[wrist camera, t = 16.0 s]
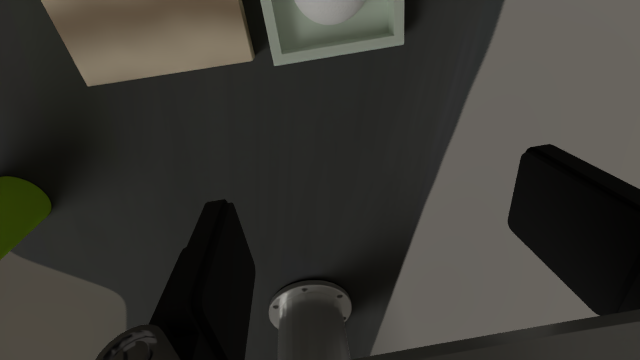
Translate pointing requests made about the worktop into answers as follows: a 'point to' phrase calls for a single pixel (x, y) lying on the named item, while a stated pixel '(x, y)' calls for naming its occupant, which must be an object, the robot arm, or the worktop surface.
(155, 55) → the board
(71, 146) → the worktop surface
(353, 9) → the garlic bulb
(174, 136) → the worktop surface
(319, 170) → the worktop surface
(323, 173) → the worktop surface
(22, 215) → the soap dispenser
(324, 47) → the dish
